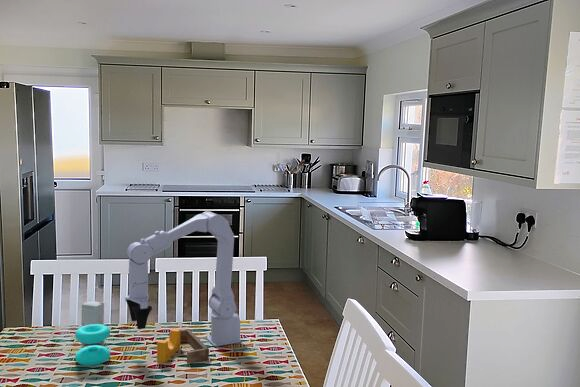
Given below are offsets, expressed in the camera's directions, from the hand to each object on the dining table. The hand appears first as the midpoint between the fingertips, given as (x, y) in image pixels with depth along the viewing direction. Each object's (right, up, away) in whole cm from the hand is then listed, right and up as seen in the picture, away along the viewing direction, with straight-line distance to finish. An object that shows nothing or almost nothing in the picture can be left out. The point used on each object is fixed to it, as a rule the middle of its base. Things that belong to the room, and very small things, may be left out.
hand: (138, 324), depth 170 cm
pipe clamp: (+8, -10, +3) cm, 13 cm away
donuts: (-13, -10, -3) cm, 17 cm away
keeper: (+14, -10, +6) cm, 19 cm away
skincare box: (-19, -8, +14) cm, 25 cm away
